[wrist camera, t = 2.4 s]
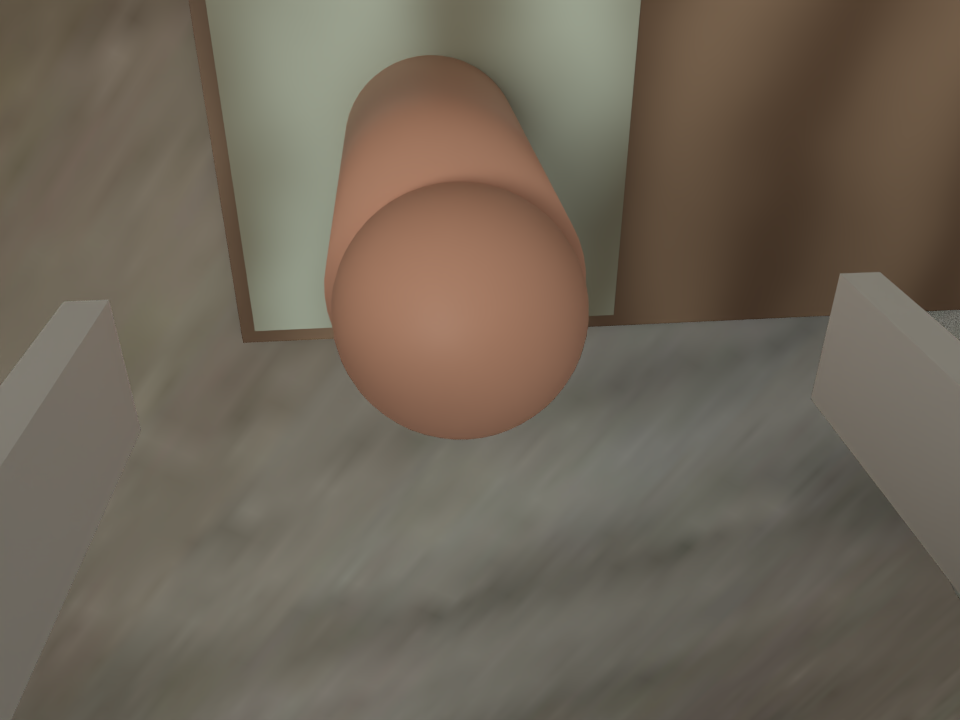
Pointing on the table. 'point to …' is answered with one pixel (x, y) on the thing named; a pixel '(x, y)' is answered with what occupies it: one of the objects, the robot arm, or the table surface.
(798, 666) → the table surface
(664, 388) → the table surface
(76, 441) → the robot arm
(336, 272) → the pawn
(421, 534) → the table surface
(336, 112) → the game board
